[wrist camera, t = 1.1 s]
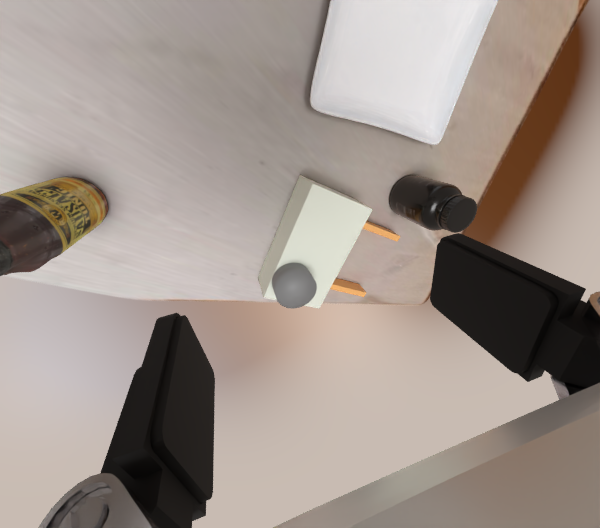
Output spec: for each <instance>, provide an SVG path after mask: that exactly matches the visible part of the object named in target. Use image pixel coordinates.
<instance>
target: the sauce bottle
mask: <svg viewBox="0 0 600 528" xmlns="http://www.w3.org/2000/svg"><path fill="white" fill-rule="evenodd" d="M107 212H108V205H107V201H106V199H105V196H104V195H103V194H102V192H101V191H100V190H99V189H98V188H97V187H95V186H94V185H92V184H91V183H89V182H86V181H85V180H83V179H79V178H67V177H61V178H56V179H52V180H49V181H45V182H42V183H38V184H34V185H31V186H27V187H24V188H20V189H17V190H13V191H10V192H7V193H4V194H1V195H0V276H2V275H7V274H9V273H16V272H31V271H35V270H37V269H38V268H40V267H41V266H43V265H44V264H45V263H47V262H48V261H49V260H51V259H52V258H54V257H57V256H58V255H60V254H61V253H63V252H64V251H65V250H67V249H68V248H69V247H71V246H72V245H73V244H74V243H76V242H77V241H78V240H80V239H81V238H82V237H84V236H85V235H86V234H88V233H89V232H90V231H92V230H93V229H94V228H95V227H97V226H98V225H99V224H100V223H101V222H102V221H103V220H104V218H105V216H106V214H107Z"/></svg>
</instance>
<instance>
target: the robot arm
mask: <svg viewBox="0 0 600 528" xmlns="http://www.w3.org/2000/svg"><path fill="white" fill-rule="evenodd" d="M585 290H586V289H585V288H583V287H580V286H578V285H576V284H574V283H571V282H569V281H567V280H564V279H562V278H560V277H558V276H555V275H553V274H551V273H549V272H546V271H544V270H542V269H540V268H537V267H535V266H533V265H530V264H528V263H526V262H524V261H521V260H519V259H517V258H514V257H512V256H510V255H508V254H506V253H503V252H500V251H499V250H496V249H494V248H492V247H490V246H487V245H485V244H483V243H481V242H478V241H476V240H474V239H471V238H469V237H467V236H465V235H462V234H459V233H458V234H453V235H450V236H446V237H443V238H442V239H441V240H440V243H439V244H438V245H437V252H436V259H435V266H434V274H433V281H432V289H431V296H430V300H431V303H432V305H433V306H434V307H435V308H436V309H437V310H438V311H440V312H441V313H442V314H443V315H444V316H446V317H447V318H448V319H449V320H450V321H452V322H453V323H454V324H455V325H456V326H458V327H459V328H460V329H461V330H462V331H464V332H465V333H466V334H467V335H468V336H470V337H471V338H472V339H473V340H474V341H476V342H477V343H478V344H479V345H480V346H482V347H483V348H484V349H485V350H486V351H488V352H489V353H490V354H491V355H492V356H494V357H495V358H496V359H497V360H499V361H500V362H501V363H502V364H503V365H504V366H505V367H507V368H508V369H509V370H511V371H512V372H514V373H518V374H519V375H520V376H521V377H523V378H524V379H525V380H526V381H527V382H529V381H531V380H534V379H536V378H538V377H541V376H542V374H543V372H544V370H545V371H547V372H548V373H549V374H550V375H551V379H552V382H553V384H554V387H555V389H556V392H557V395H558V397H559V400H558V401H556V402H554V403H552V404H549V405H547V406H545V407H543V408H540V409H538V410H535V411H533V412H531V413H528V414H526V415H524V416H522V417H519V418H517V419H515V420H512V421H510V422H508V423H506V424H503V425H501V426H499V427H497V428H495V429H492V430H490V431H487V432H485V433H483V434H481V435H478V436H476V437H474V438H471V439H469V440H467V441H465V442H462V443H460V444H458V445H456V446H453V447H451V448H449V449H447V450H444V451H442V452H440V453H438V454H435V455H433V456H431V457H428V458H426V459H424V460H422V461H419V462H417V463H415V464H413V465H410V466H408V467H406V468H404V469H401V470H399V471H397V472H395V473H392V474H390V475H388V476H386V477H383V478H381V479H379V480H377V481H374V482H372V483H370V484H368V485H366V486H363V487H361V488H359V489H357V490H354V491H352V492H350V493H348V494H345V495H343V496H341V497H339V498H336V499H334V500H332V501H330V502H328V503H326V504H323V505H321V506H318V507H316V508H314V509H312V510H310V511H307V512H305V513H303V514H301V515H299V516H297V517H295V518H293V519H291V520H288V521H286V522H284V523H282V524H280V525H278V526H276V527H273V528H600V292H596V293H594V294H592V295H591V296H590V298H589V300H588V301H587V303H585V302H583V301H581V298H582V296H583V294H584V292H585ZM214 389H215V378H214V372H213V369H212V367H211V365H210V363H209V361H208V359H207V357H206V355H205V353H204V351H203V349H202V347H201V345H200V343H199V341H198V339H197V337H196V335H195V333H194V331H193V329H192V326H191V324H190V322H189V320H188V318H187V317H186V316H185V315H184V316H180V315H179V314H178V313H174V314H171V315H167V316H164V317H160V318H158V319H157V321H156V324H155V327H154V330H153V333H152V336H151V339H150V342H149V345H148V349H147V351H146V355H145V358H144V361H143V364H142V367H140V368H139V369H138V370H136V372H135V374H134V377H133V380H132V383H131V385H130V388H129V391H128V394H127V397H126V400H125V403H124V406H123V409H122V412H121V415H120V418H119V421H118V423H117V427H116V430H115V432H114V435H113V438H112V441H111V444H110V447H109V450H108V453H107V456H106V459H105V461H104V465H103V468H102V470H101V473H100V474H97V475H94V476H91V477H89V478H87V479H85V480H84V481H82V482H80V483H78V484H77V485H76V486H75V487H73V488H72V489H71V490H70V491H68V492H67V493H66V494H65V495H64V496H63V497H62V498H61V499H60V500H59V501H58V502H57V503H56V504H55V505H54V507H53V508H52V509H51V510H50V512H49V513H48V514H47V516H46V517H45V519H44V520H43V521H42V523H41V524H40V526H39V528H192V521H194V520H196V519H199V518H201V517H203V516H205V515H206V500H209V499H211V497H212V493H213V450H214V447H213V446H214Z"/></svg>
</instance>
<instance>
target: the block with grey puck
mask: <svg viewBox="0 0 600 528" xmlns="http://www.w3.org/2000/svg"><path fill="white" fill-rule="evenodd" d="M372 210H373V209H371V208H369V207H368V206H366V205H364V204H363V203H361V202H359V201H357V200H356V199H354V198H352V197H349V196H347V195H345V194H343V193H340V192H338V191H336V190H333V189H331V188H329V187H327V186H324V185H322V184H320V183H317V182H315V181H313V180H311V179H308V178H306V177H304V176H301V175H300V176H299V178H298V181H297V183H296V186H295V188H294V191H293V193H292V195H291V198H290V200H289V203H288V205H287V208H286V210H285V213H284V215H283V217H282V220H281V222H280V225H279V227H278V230H277V232H276V234H275V237H274V239H273V242H272V244H271V247H270V249H269V252H268V254H267V256H266V259H265V261H264V264H263V266H262V269H261V271H260V273H259V276H258V279H259V283H260V287H261V290H262V294H263V298H267V299H273V300H277V301H278V302H279V303H280V304H281V305H282V306H284V307H286V308H299V307H302V306H304V305H305V306H309V307H314V308H320V306H321V304H322V303H323V301H324V299H325V297H326V295H327V293H328V291H329V290H330V289H332V290H337V291H341V292H345V293H349V294H353V295H358V296H362V297H364V296H365V294H366V292H365V290H364V289H363V288H362V287H361V286H360V285H359V284H357V283H353V282H349V281H345V280H341V279H337V278H336V277H337V275H338V273H339V271H340V269H341V267H342V265H343V264H344V262H345V260H346V258H347V256H348V254H349V252H350V251H351V249H352V247H353V245H354V243H355V241H356V239H357V238H358V236H359V234H360V232H361V230H362V228H363V229H366V230H368V231H371V232H374V233H376V234H379V235H381V236H384V237H387V238H389V239H392V240H395V241H398V240H399V238H400V236H399V235H397V234H396V233H394V232H393V231H391V230H389V229H386V228H384V227H381V226H379V225H376V224H374V223H371V222H369V221H367V219H368V217H369V215H370V214H371V212H372Z"/></svg>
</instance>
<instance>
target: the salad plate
mask: <svg viewBox="0 0 600 528" xmlns="http://www.w3.org/2000/svg"><path fill="white" fill-rule="evenodd" d="M497 2H498V0H330V4H329V9H328V14H327V19H326V23H325V28H324V32H323V37H322V42H321V46H320V50H319V54H318V59H317V63H316V67H315V71H314V75H313V80H312V85H311V92H310V104H311V107H312V108H313V109H314V110H316V111H318V112H320V113H323V114H327V115H331V116H334V117H339V118H343V119H348V120H352V121H356V122H360V123H364V124H368V125H372V126H375V127H379V128H382V129H386V130H389V131H392V132H395V133H398V134H401V135H404V136H407V137H409V138H412V139H415V140H418V141H421V142H424V143H427V144H431V145H437V144H438V143H439V142H440V141H441V139H442V137H443V135H444V132H445V130H446V127H447V125H448V122H449V120H450V117H451V115H452V112H453V110H454V107H455V105H456V102H457V99H458V97H459V95H460V92H461V90H462V87H463V84H464V82H465V80H466V77H467V75H468V72H469V69H470V67H471V65H472V62H473V60H474V57H475V54H476V52H477V49H478V47H479V45H480V42H481V40H482V37H483V35H484V33H485V30H486V28H487V25H488V23H489V21H490V18H491V16H492V13H493V11H494V9H495V7H496V4H497Z"/></svg>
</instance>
